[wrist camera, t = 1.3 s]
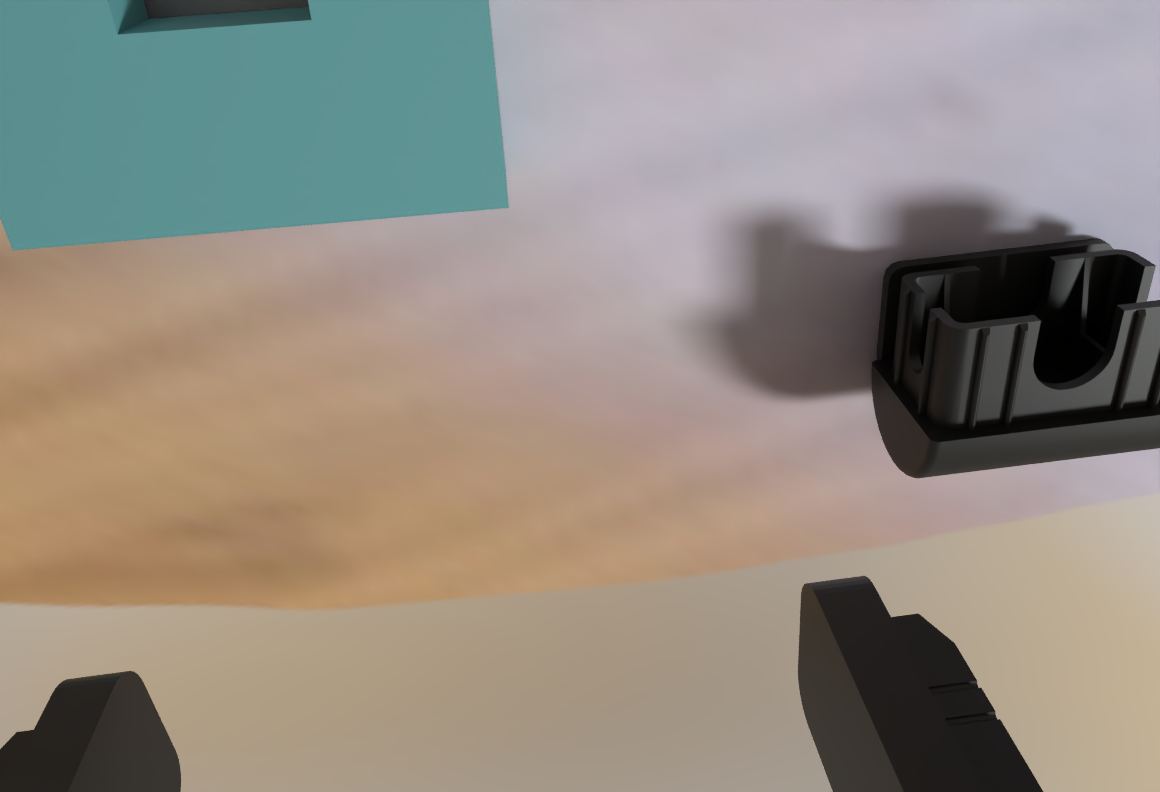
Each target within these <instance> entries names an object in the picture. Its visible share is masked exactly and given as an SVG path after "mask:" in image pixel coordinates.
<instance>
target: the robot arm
mask: <svg viewBox="0 0 1160 792" xmlns="http://www.w3.org/2000/svg"><path fill="white" fill-rule="evenodd" d="M798 680H799V689H800V695H801V701H802V705H803V709H804V713H805V717H806V720H807V723H808V726H809V729H810V731H811V734H812V737H813V740H814V742H815V745H816V747H817V750H818V753H819V755H820V758H821V761H822V764H823V766H824V769H825V771H826V774H827V777H828V780H829V782H830V785H831V788H832V790H833V792H1043V791H1042V789H1041V787H1040V786H1039V784H1038V782H1037V780H1036V779H1035V777H1034V776H1033V774H1032V772H1031V770H1030V769H1029V767H1028V765H1027V764H1026V762H1025V760H1024V759H1023V757H1022V755H1021V754H1020V752H1019V750H1018V749H1017V747H1016V745H1015V744H1014V742H1013V740H1012V738H1011V737H1010V735H1009V733H1008V732H1007V730H1006V728H1005V727H1004V725H1003V723H1002V722H1001V720H1000V719H999V720H997V718H996V715H995V710H994V708H993V707H992V705H991V703H990V702H989V700H988V698H987V697H986V695H985V693H984V692H983V690H982V688H978V685H977V680H976V678H975V677H974V675H973V673H972V672H971V670H970V668H969V666H968V665H967V663H966V661H965V660H964V658H963V656H962V655H961V653H960V651H959V650H958V648H957V647H956V645H955V643H954V642H952V641H951V640H950V639H949V638H948V637H946V636H945V635H944V634H943V633H941V632H940V631H939V630H938V629H937V628H935V627H934V626H933V625H932V624H930V623H929V622H928V621H927V620H926V619H924V618H923V617H922V616H921V615H919V614H912V615H905V616H897V617H890V615H889V613H888V611H887V609H886V607H885V605H884V603H883V602H882V600H881V598H880V596H879V594H878V592H877V590H876V589H875V587H874V585H873V583H872V582H871V581H870V579H869V578H867V577H866V576H860V577H853V578H845V579H837V580H830V581H822V582H815V583H807V584H804V586H803V588H802V592H801V611H800V635H799V660H798ZM180 788H181V773H180V764H179V759H178V756H177V753H176V750H175V748H174V746H173V745H172V742H171V740H170V738H169V736H168V734H167V731H166V729H165V727H164V725H163V723H162V722H161V719H160V717H159V715H158V712H157V710H156V708H155V706H154V704H153V702H152V700H151V698H150V696H149V694H148V691H147V689H146V687H145V685H144V683H143V681H142V679H141V678H140V677H139V675H138V674H136V673H135V672H132V671H127V672H120V673H112V674H104V675H97V676H89V677H81V678H75V679H67V680H65V681H63V682H61V683H60V684H59V685H58V686H57V687H56V689H55V690H54V692H53V693H52V695H51V697H50V700H49V701H48V703H47V705H46V707H45V709H44V711H43V713H42V715H41V717H40V719H39V721H38V723H37V725H36V727H35V729H34V730H30V731H23V732H17V733H16V734H15V735H14V736H13V737H12V738H11V739H10V740H9V741H8V742H7V743H6V744H5V745H4V746H3V747H2V748H1V749H0V792H180V791H181V790H180Z"/></svg>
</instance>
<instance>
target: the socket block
mask: <svg viewBox="0 0 1160 792" xmlns="http://www.w3.org/2000/svg"><path fill="white" fill-rule="evenodd" d="M308 4H309V7H297V8H284V9H270V10H257V11H243V12H230V13H217V14H203V15H190V16H176V17H163V18H149V17H148V13H147V9H146V6H145V2H144V0H0V219H1V221H2V224H3V227H4V229H5V232H6V234H7V237H8V239H9V242H10V244H11V247H12V249H13V250H23V249H34V248H46V247H57V246H69V245H81V244H92V243H104V242H116V241H127V240H139V239H150V238H162V237H174V236H185V235H197V234H209V233H220V232H232V231H243V230H255V229H267V228H278V227H290V226H301V225H313V224H325V223H336V222H348V221H360V220H371V219H383V218H394V217H406V216H418V215H429V214H441V213H452V212H464V211H476V210H487V209H499V208H509V207H508V194H507V181H506V171H505V161H504V151H503V141H502V131H501V121H500V111H499V101H498V91H497V81H496V71H495V61H494V51H493V41H492V31H491V21H490V11H489V1H488V0H308Z"/></svg>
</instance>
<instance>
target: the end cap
mask: <svg viewBox="0 0 1160 792" xmlns="http://www.w3.org/2000/svg"><path fill="white" fill-rule="evenodd" d="M1155 266H1156V265H1154V264H1152V263H1151V262H1149V261H1147V260H1146V259H1144V258H1143V257H1141V256H1139V255H1138V254H1136V253H1134V252H1130V251H1126V250H1117V249H1115V250H1114V249H1113V248H1112V247H1111V246H1110V244H1108V243H1106V242H1105V241H1103V240H1100V239H1088V240H1080V241H1071V242H1062V243H1054V244H1045V245H1037V246H1028V247H1019V248H1011V249H1002V250H994V251H985V252H976V253H968V254H959V255H950V256H942V257H933V258H925V259H916V260H907V261H899V262H896V263H894V264H891V265H890V266H889V267H888V268H887V269H886V272H885V274H884V278H883V289H882V300H881V311H880V321H879V332H878V343H877V360H875V361H873V362H872V394H873V403H874V409H875V414H876V419H877V423H878V427H879V430H880V433H881V436H882V440H883V442H884V444H885V447H886V449H887V451H888V453H889V455H890V457H891V458H892V460H893V462H894V463H895V464H896V466H897V467H898V468H899V469H900V470H901V471H902V472H904V473H905V474H906V475H908V476H911V477H914V478H924V477H932V476H940V475H948V474H956V473H964V472H972V471H980V470H988V469H996V468H1004V467H1012V466H1020V465H1028V464H1036V463H1044V462H1052V461H1060V460H1068V459H1076V458H1084V457H1092V456H1100V455H1108V454H1116V453H1124V452H1132V451H1140V450H1148V449H1156V448H1160V300H1156V301H1148V302H1147V298H1148V294H1149V290H1150V286H1151V282H1152V278H1153V274H1154V270H1155Z"/></svg>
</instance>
